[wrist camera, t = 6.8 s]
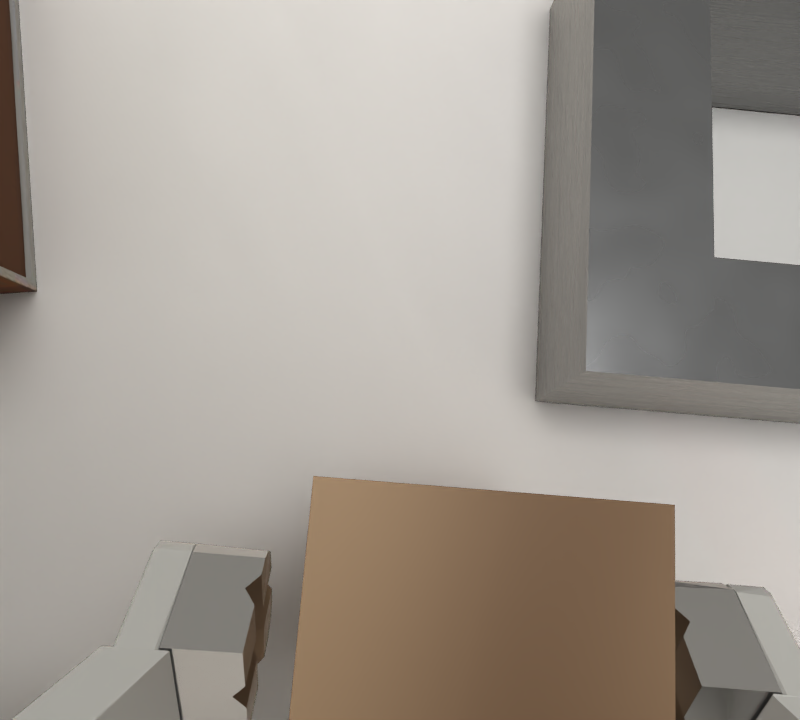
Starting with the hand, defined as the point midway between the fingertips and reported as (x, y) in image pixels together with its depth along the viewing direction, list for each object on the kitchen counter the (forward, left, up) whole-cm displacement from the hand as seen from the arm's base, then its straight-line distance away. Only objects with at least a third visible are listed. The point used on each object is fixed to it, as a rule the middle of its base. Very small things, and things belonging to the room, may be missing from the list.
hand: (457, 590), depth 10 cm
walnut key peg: (0, -1, -6) cm, 6 cm away
